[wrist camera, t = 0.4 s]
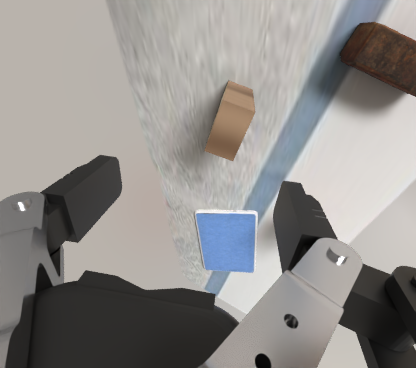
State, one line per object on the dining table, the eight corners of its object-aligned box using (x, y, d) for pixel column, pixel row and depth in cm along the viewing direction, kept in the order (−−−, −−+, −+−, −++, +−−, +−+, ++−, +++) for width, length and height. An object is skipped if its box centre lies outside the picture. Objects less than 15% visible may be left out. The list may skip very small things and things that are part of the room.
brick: (334, 59, 27) (349, 64, 23) (358, 21, 25) (379, 20, 21) (406, 94, 28) (432, 104, 24) (436, 61, 26) (469, 67, 22)
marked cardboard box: (228, 80, 30) (221, 99, 22) (252, 89, 30) (255, 112, 22) (213, 121, 33) (203, 150, 25) (235, 129, 34) (232, 161, 26)
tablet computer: (194, 207, 45) (193, 211, 44) (257, 208, 43) (258, 213, 42) (204, 265, 56) (203, 270, 55) (255, 269, 53) (255, 273, 52)
